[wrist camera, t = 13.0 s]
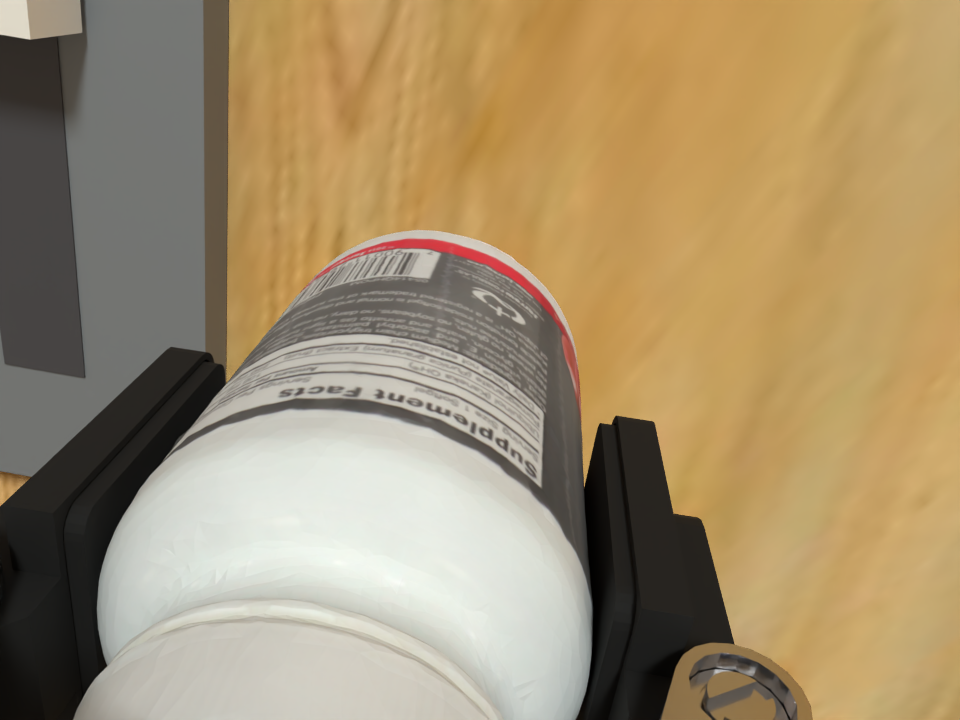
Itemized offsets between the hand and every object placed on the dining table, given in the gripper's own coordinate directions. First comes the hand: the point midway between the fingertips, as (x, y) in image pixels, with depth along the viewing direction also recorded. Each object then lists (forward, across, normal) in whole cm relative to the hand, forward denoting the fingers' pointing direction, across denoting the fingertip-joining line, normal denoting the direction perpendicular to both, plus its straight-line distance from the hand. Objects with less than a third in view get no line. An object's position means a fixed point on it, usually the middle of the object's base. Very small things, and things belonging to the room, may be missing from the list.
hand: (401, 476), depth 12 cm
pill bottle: (+4, 0, 0) cm, 4 cm away
